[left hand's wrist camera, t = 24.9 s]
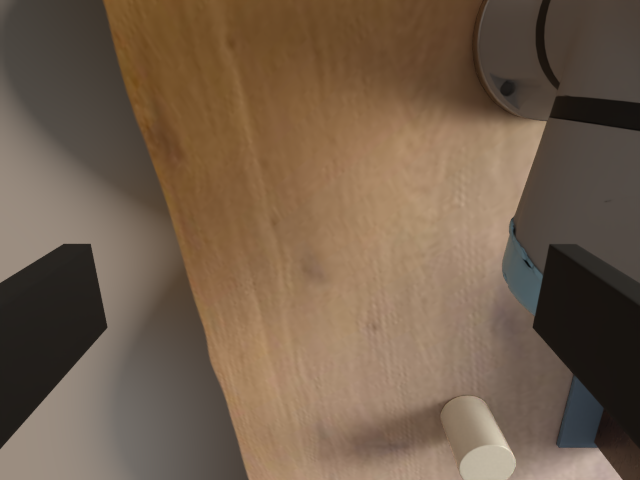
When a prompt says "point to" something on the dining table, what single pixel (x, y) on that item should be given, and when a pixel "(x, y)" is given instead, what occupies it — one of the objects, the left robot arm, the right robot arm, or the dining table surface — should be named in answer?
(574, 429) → the felt mat
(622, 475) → the walnut beam
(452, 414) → the white canister
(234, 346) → the dining table surface
